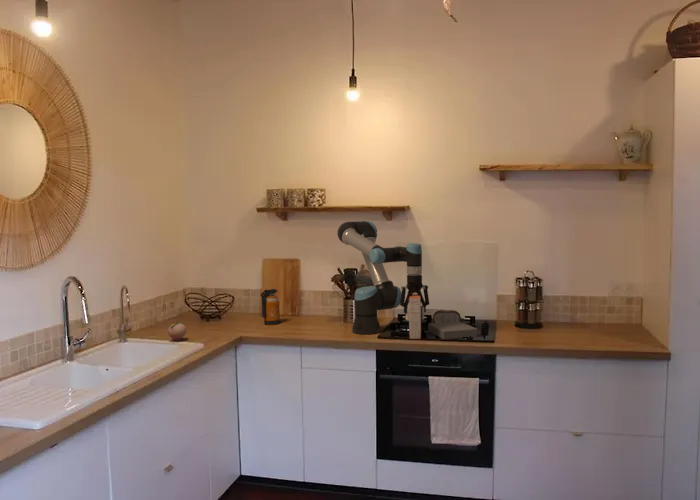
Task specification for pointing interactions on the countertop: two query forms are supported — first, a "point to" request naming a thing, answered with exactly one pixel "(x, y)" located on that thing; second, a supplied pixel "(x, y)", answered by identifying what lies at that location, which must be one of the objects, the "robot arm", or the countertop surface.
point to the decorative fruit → (177, 331)
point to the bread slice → (446, 316)
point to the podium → (452, 330)
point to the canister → (270, 307)
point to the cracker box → (415, 316)
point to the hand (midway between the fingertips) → (414, 319)
